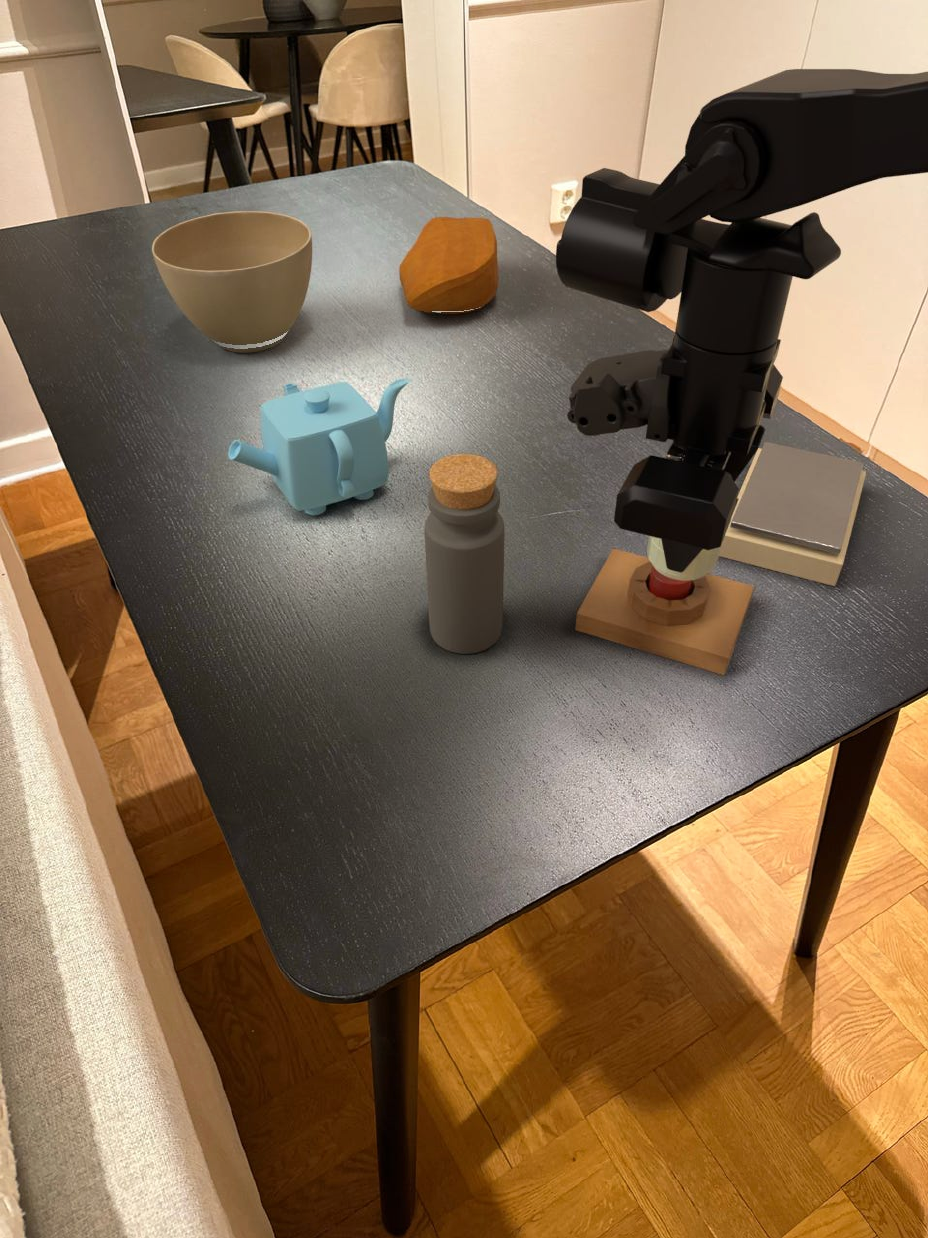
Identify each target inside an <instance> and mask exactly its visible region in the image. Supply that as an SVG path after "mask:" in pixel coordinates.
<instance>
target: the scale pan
mask: <svg viewBox="0 0 928 1238" xmlns="http://www.w3.org/2000/svg"><path fill="white" fill-rule="evenodd" d="M761 449H762V450H761V452H760V455H759V457H758V460H757V462H756V464H755V467H754V469H753V471H752V474H751V476H750V479H749V481H748V483H747V486H746V488H745V491H744V493H743V495H742V498H741V500H740V502H739V505H738V507H737V510H736V512H735V514H734V517H733V519H732V522H731V525H730V527H731V528H735V529H739V530H743V531H747V532H751V533H755V534H759V535H763V536H767V537H771V538H775V539H779V540H783V541H787V542H791V543H795V544H799V545H803V546H807V547H811V548H815V549H819V550H823V551H827V552H831V553H835V554H840V551H841V548H842V544H843V540H844V537H845V533H846V529H847V525H848V521H849V517H850V514H851V510H852V506H853V502H854V498H855V495H856V491H857V487H858V483H859V479H860V475H861V472H862V471H863V467H864V462H862V461H856V460H851V459H848V458H842V457H837V456H833V455H828V454H824V453H820V452H815V451H810V450H805V449H801V448H796V447H791V446H787V445H782V444H779V443H778V444H777V443H773V442H769V441H764V443H763V445H762V448H761Z"/></svg>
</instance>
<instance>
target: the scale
mask: <svg viewBox="0 0 928 1238" xmlns="http://www.w3.org/2000/svg"><path fill="white" fill-rule="evenodd" d="M761 450H762V448H760V447H759V448H758V450H757V451H756V453H755V454H754V456H753V458H752V459H753V460H752V462H751V464H750V467H749V469H748V470H747V474H746V476H745V478H744V481H743V483H742V485H741V487H740V489H739V491H738V496H737V499H738V502H737V505H736V507H735V510H734V512H733V515H732V518H731V521H730V524H729V526H728V529H727V531H726V534H725V537H724V539H723V542H722V546H721V550H720V555H719V558H724V559H727V560H732V561H734V562H735V561H736V562H740V563H743V564H747V565H751V566H754V567H759V568H762V569H765V570H766V569H767V570H771V571H773V572H778V573H782V574H785V575H789V576H793V577H796V578H801V579H804V580H809V581H813V582H816V583H820V584H824V585H828V586H832V587H836V585H837V582H838V580H839V577H840V575H841V571H842V569H843V566H844V563H845V558H846V553H847V551H848V547H849V543H850V540H851V538H852V534H853V530H854V525H855V523H856V517H857V515H858V510H859V503H860V499H861V495H862V492H863V487H864V483H865V479H866V476H867V471H865V470H862V472H861V475H860V479H859V483H858V487H857V491H856V495H855V498H854V502H853V506H852V510H851V514H850V517H849V521H848V525H847V529H846V533H845V537H844V540H843V544H842V548H841V551H840V554H835V553H831V552H827V551H823V550H819V549H815V548H811V547H807V546H803V545H799V544H795V543H791V542H787V541H783V540H779V539H775V538H771V537H767V536H763V535H759V534H755V533H751V532H747V531H743V530H739V529H735V528H731V527H730V525H731V522H732V519H733V517H734V514H735V512H736V510H737V507H738V505H739V502H740V500H741V498H742V495H743V493H744V491H745V488H746V486H747V483H748V481H749V479H750V476H751V474H752V471H753V469H754V467H755V464H756V462H757V460H758V457H759V455H760V452H761Z"/></svg>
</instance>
